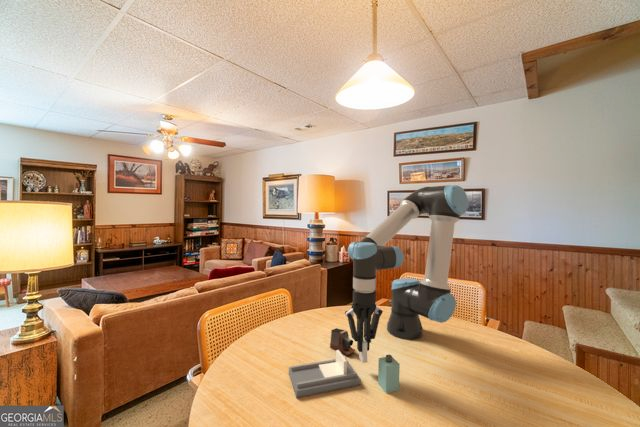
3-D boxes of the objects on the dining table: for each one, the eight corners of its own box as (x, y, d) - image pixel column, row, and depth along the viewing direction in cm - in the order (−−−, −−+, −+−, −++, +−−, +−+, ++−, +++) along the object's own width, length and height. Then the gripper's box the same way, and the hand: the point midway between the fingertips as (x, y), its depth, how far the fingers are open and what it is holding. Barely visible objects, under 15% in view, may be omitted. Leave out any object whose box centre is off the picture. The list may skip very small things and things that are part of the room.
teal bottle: (390, 381, 86) (391, 351, 85) (399, 390, 81) (399, 359, 81) (378, 383, 84) (378, 353, 84) (385, 393, 80) (386, 361, 80)
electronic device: (348, 357, 99) (348, 337, 99) (329, 348, 106) (329, 328, 106) (355, 353, 102) (356, 333, 102) (336, 344, 109) (337, 325, 109)
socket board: (345, 363, 95) (345, 355, 95) (360, 385, 83) (360, 375, 83) (288, 373, 89) (288, 364, 89) (296, 398, 77) (296, 387, 77)
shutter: (338, 363, 91) (338, 349, 91) (346, 375, 85) (346, 361, 85) (318, 366, 89) (318, 352, 89) (325, 379, 83) (325, 364, 82)
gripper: (376, 285, 95) (375, 351, 96) (341, 287, 91) (340, 357, 92) (387, 291, 88) (386, 363, 88) (350, 294, 84) (349, 369, 85)
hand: (363, 360), depth 90 cm, fingers closed
